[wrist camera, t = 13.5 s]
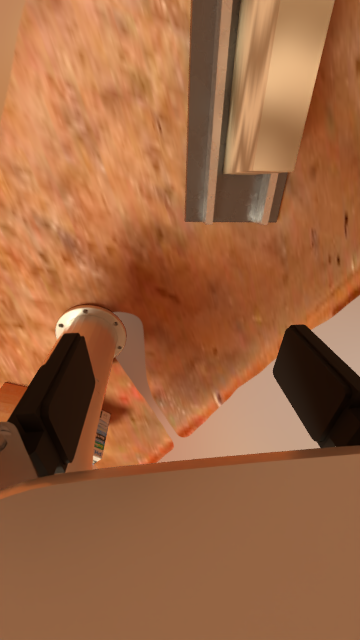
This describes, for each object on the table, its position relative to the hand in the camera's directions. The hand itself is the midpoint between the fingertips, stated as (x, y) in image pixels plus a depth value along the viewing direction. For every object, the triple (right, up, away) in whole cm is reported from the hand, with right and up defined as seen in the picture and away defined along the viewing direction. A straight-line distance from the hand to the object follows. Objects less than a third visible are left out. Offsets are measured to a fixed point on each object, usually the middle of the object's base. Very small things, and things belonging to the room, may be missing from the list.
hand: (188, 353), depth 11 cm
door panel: (+8, +28, +16) cm, 33 cm away
